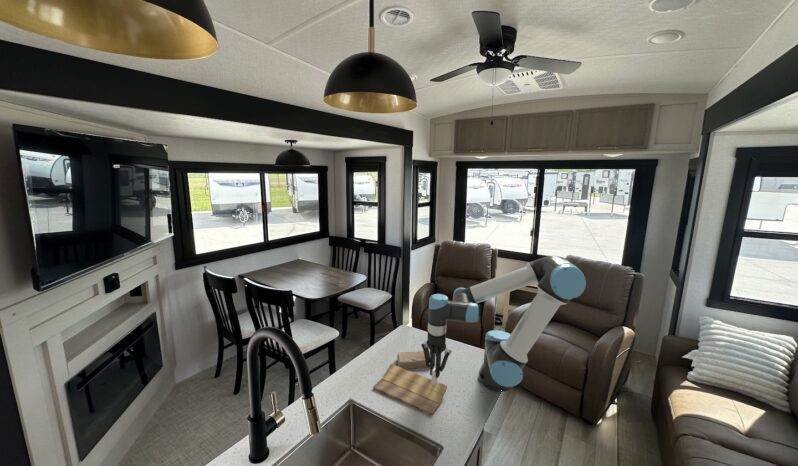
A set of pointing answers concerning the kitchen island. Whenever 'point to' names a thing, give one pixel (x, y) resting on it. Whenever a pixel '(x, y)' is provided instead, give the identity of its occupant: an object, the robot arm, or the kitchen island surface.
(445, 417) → the kitchen island surface
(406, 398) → the laid row
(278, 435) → the kitchen island surface
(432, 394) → the plank
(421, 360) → the brick
